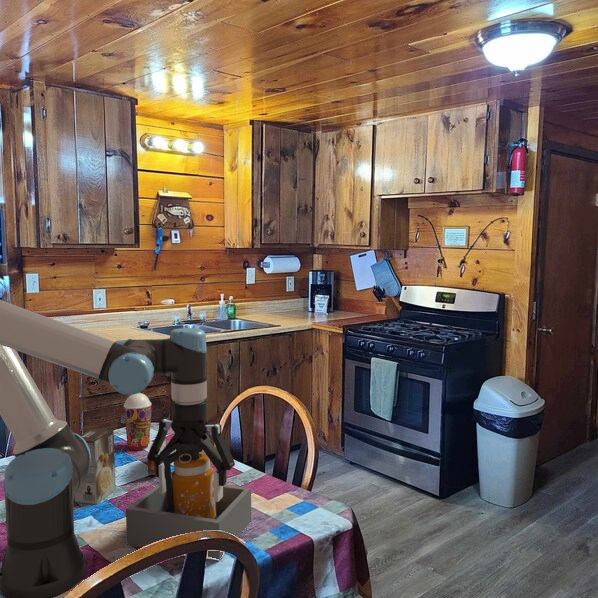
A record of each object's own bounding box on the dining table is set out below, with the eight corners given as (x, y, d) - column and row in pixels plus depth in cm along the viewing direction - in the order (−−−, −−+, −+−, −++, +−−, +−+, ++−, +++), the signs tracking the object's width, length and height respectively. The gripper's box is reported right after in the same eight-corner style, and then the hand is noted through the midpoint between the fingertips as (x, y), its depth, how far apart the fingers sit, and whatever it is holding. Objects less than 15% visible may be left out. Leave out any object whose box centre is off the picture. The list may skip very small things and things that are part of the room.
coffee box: (93, 487, 153) (92, 427, 151) (116, 489, 152) (114, 429, 150) (73, 502, 144) (71, 439, 142) (97, 504, 143) (95, 441, 141)
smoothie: (137, 453, 177) (135, 389, 175) (118, 448, 181) (117, 385, 180) (158, 445, 184) (156, 383, 182) (139, 440, 188) (138, 380, 186)
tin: (157, 459, 172) (157, 432, 172) (168, 459, 173) (167, 431, 172) (146, 480, 157) (145, 450, 157) (158, 480, 158) (157, 450, 157)
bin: (219, 561, 118) (219, 523, 117) (126, 545, 124) (125, 508, 123) (251, 521, 134) (251, 488, 133) (168, 509, 140) (167, 477, 140)
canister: (217, 533, 126) (211, 444, 123) (165, 541, 124) (158, 450, 121) (216, 514, 134) (210, 430, 132) (166, 521, 132) (160, 435, 130)
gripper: (249, 400, 126) (249, 495, 128) (148, 391, 133) (150, 481, 135) (235, 409, 119) (236, 510, 121) (129, 400, 126) (132, 495, 128)
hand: (190, 495), depth 128 cm, fingers open, 13 cm apart
